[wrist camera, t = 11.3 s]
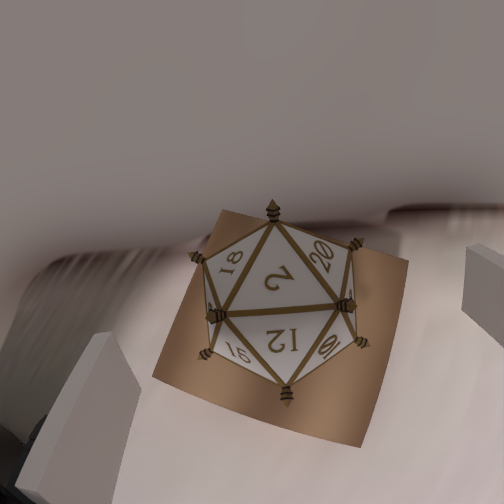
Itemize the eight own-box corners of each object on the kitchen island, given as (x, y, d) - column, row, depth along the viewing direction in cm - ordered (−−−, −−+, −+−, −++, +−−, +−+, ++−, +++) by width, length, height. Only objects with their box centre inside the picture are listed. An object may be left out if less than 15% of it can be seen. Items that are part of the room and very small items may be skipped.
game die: (269, 306, 23) (254, 165, 18) (383, 345, 18) (404, 183, 13) (177, 388, 17) (119, 225, 12) (308, 466, 12) (315, 285, 7)
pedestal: (168, 378, 20) (151, 376, 18) (229, 229, 25) (222, 209, 22) (350, 440, 18) (360, 447, 15) (395, 276, 22) (408, 260, 19)
